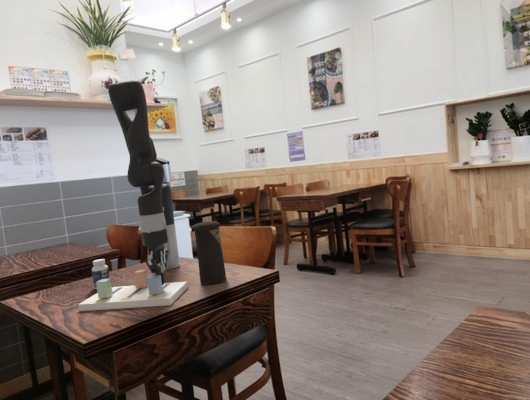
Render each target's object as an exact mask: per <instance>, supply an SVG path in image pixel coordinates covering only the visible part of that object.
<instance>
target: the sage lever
mask: <svg viewBox="0 0 530 400" xmlns="http://www.w3.org/2000/svg"><path fill="white" fill-rule="evenodd" d="M96 285H97V289H96V291H97V292H96V293H98V298H99V299H100V298H109V297H110V296H112V295H113V292H112V287H113V286H112V280H111V278H110V279H101V280H99V281H98V282H96Z"/></svg>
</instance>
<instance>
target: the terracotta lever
mask: <svg viewBox="0 0 530 400" xmlns="http://www.w3.org/2000/svg"><path fill="white" fill-rule="evenodd" d="M147 270H148V269H138V270H136V271H134V272H133V278H134V285H135V287H136V288H145V287H146V286H148V282H147V278H148V277H149V276H148V271H147Z"/></svg>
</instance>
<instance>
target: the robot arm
mask: <svg viewBox="0 0 530 400" xmlns="http://www.w3.org/2000/svg"><path fill="white" fill-rule="evenodd" d="M107 90H108V96H109V100H110V102H111V105H112V108H113V110H114V113H115V116H116V117H117V120H118V123H119V125H120V128H121V131H122V134H123V138H124V141H125V145H126V148H127V152H128V154H129V162H128V169H127V180H128V183H129V184H130V186H132V187H133V188H139V189H140V194H141V195H139V196H138V198H137V208H138V213H139V214H138V215H139V228H140V234H141V242H142V245H143V246H144V247H147V255H148V258H147V259H145V260H144V261H145V265H146V266H147V268H148V269H149V271H150V273H152V274H154V275H161V281H162V285H163V284H165V283H166V276H165V271H168V270H172V269H176V268H178V267H180V266H181V262H180V254H179V247H178V240H177V239H178V238H177V230H176V225H175V214H174V207H173V194H172V188H171V187H170V185H169V184H167V183H164V178H165V170H164V169H165V168H164V167H163V165H162V163H160V162H159V161H157V157H158V156H157V155H158V154H157V151H156V148H155V144H154V141H153V139H152V138H151V135H150V130H149V129H150V128H149V114H148V104H147V96H146V93H145V92H146V91H145V89H144V86H143V83H142V82H141V81H140V80H138V79H135V80H134V79H133V80H128V81H127V80H126V81H122V82H116V83H112V84H110V85H108V88H107ZM133 110H136V113H135V116H134V117H133V120H132V119H131V118H130V116H129V115H128V113H127V111H128V112H129V111H133Z"/></svg>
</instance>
